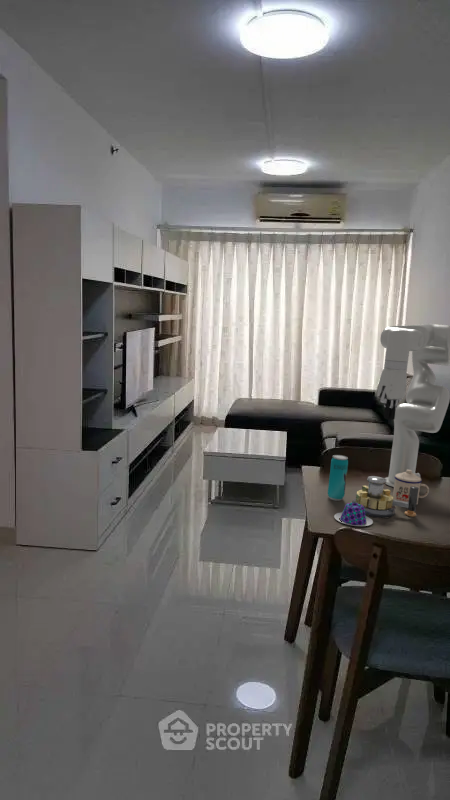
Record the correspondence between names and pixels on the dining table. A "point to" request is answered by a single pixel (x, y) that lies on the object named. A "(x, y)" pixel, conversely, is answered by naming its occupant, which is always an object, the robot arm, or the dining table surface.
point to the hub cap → (375, 492)
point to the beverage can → (337, 477)
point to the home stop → (410, 513)
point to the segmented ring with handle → (386, 499)
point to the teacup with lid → (407, 486)
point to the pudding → (353, 515)
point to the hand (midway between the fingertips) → (389, 418)
